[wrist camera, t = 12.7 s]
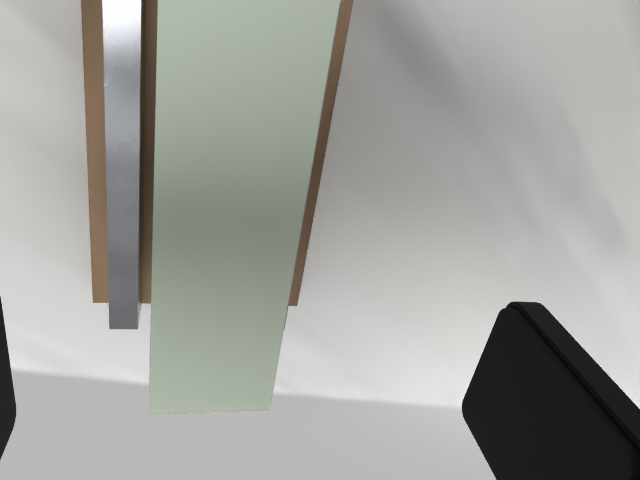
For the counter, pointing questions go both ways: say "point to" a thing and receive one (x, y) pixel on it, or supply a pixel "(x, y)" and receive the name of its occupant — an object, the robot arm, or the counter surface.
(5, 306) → the counter surface
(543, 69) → the counter surface
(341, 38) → the door track
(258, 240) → the pale green block
